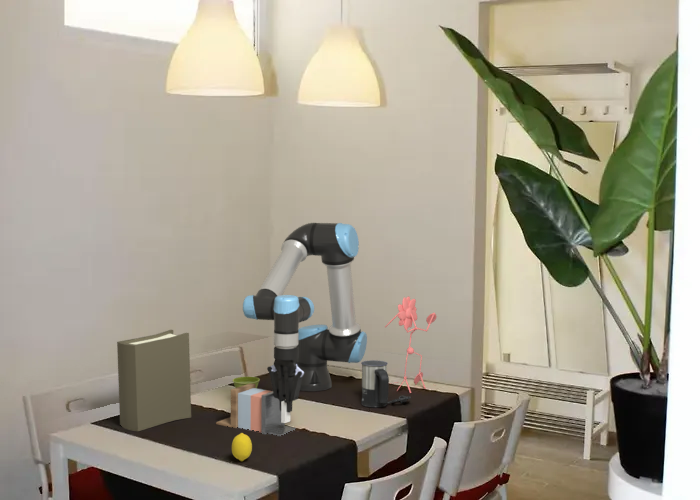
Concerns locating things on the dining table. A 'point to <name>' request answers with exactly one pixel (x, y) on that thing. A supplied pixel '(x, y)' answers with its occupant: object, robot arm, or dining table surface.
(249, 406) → the blue block
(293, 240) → the robot arm
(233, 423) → the shelf end
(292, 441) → the dining table surface
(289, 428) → the bookend
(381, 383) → the milk frother
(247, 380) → the plant pot
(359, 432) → the dining table surface
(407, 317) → the pink daisy dancer statuette
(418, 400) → the dining table surface
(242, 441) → the lemon
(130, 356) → the book
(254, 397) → the red block
